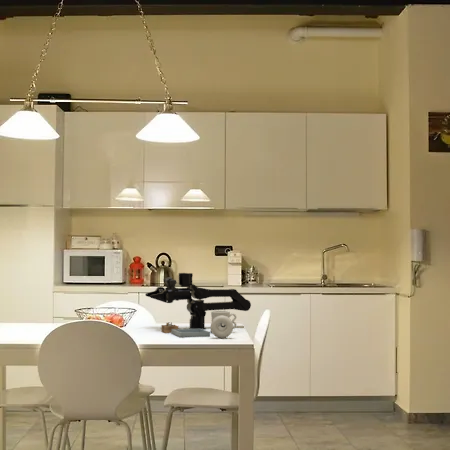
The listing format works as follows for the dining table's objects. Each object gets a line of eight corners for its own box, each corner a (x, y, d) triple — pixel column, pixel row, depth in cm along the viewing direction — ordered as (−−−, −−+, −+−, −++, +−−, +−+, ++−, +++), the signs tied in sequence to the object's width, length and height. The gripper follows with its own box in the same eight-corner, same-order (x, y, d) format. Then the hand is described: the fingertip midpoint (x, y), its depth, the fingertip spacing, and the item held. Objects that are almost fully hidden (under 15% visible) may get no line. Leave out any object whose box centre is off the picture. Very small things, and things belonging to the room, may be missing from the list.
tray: (200, 332, 312) (200, 328, 312) (210, 336, 299) (210, 331, 299) (171, 333, 307) (171, 329, 307) (180, 337, 294) (180, 332, 294)
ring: (174, 331, 317) (174, 322, 317) (178, 332, 311) (178, 324, 311) (161, 331, 315) (161, 322, 315) (164, 333, 309) (165, 324, 309)
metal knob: (171, 331, 315) (172, 322, 315) (173, 332, 312) (173, 322, 312) (165, 331, 314) (165, 322, 314) (167, 332, 311) (167, 322, 311)
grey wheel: (233, 338, 295) (233, 315, 295) (232, 339, 291) (233, 316, 292) (210, 337, 295) (211, 314, 296) (210, 338, 292) (210, 315, 292)
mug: (212, 334, 308) (213, 312, 308) (208, 331, 317) (209, 310, 317) (238, 333, 311) (239, 312, 311) (234, 331, 320) (234, 310, 320)
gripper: (173, 276, 334) (142, 277, 328) (184, 278, 317) (152, 280, 311) (173, 298, 334) (143, 300, 328) (185, 302, 317) (153, 304, 311)
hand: (147, 295), depth 320 cm, fingers open, 9 cm apart
